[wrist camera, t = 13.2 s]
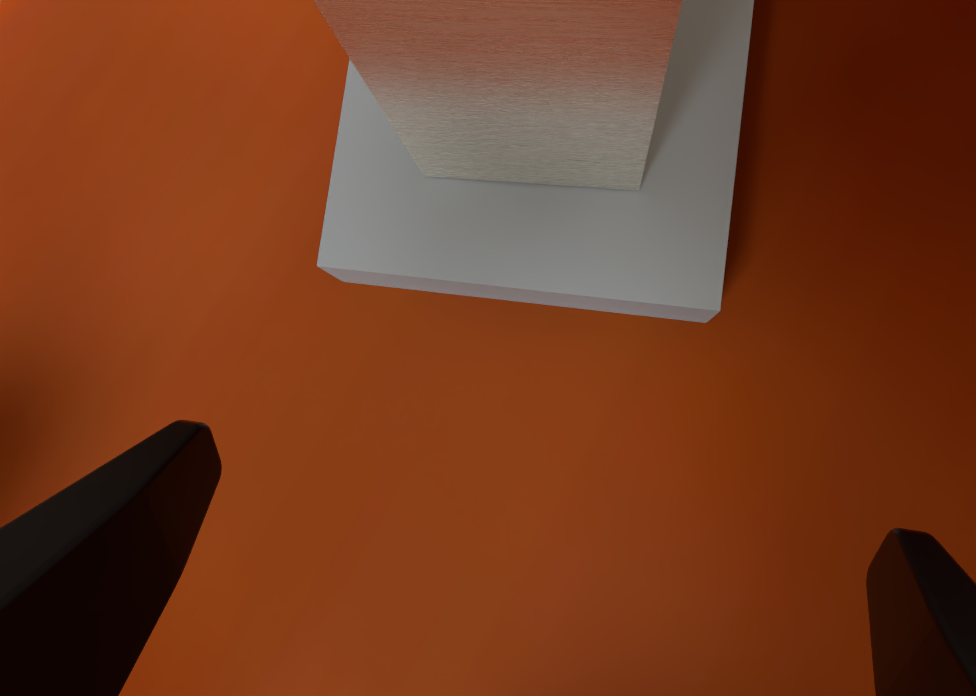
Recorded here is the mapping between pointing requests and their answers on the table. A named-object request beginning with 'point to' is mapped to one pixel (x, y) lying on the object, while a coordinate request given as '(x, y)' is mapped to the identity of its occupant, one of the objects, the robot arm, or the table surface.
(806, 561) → the table surface
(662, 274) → the grey block
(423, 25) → the cream block
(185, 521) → the robot arm
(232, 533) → the table surface
